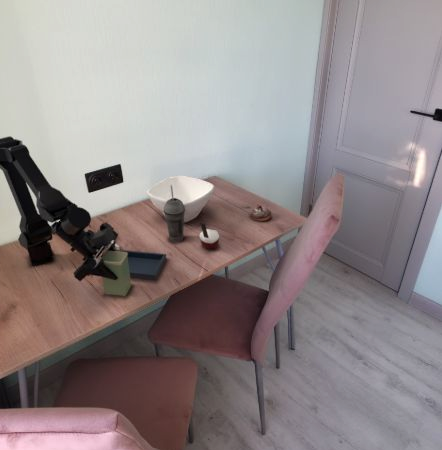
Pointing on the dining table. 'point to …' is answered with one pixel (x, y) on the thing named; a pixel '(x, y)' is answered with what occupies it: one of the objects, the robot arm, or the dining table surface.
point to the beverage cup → (174, 218)
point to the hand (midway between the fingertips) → (120, 273)
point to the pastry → (261, 213)
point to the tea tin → (117, 273)
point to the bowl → (182, 194)
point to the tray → (145, 264)
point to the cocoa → (208, 238)
